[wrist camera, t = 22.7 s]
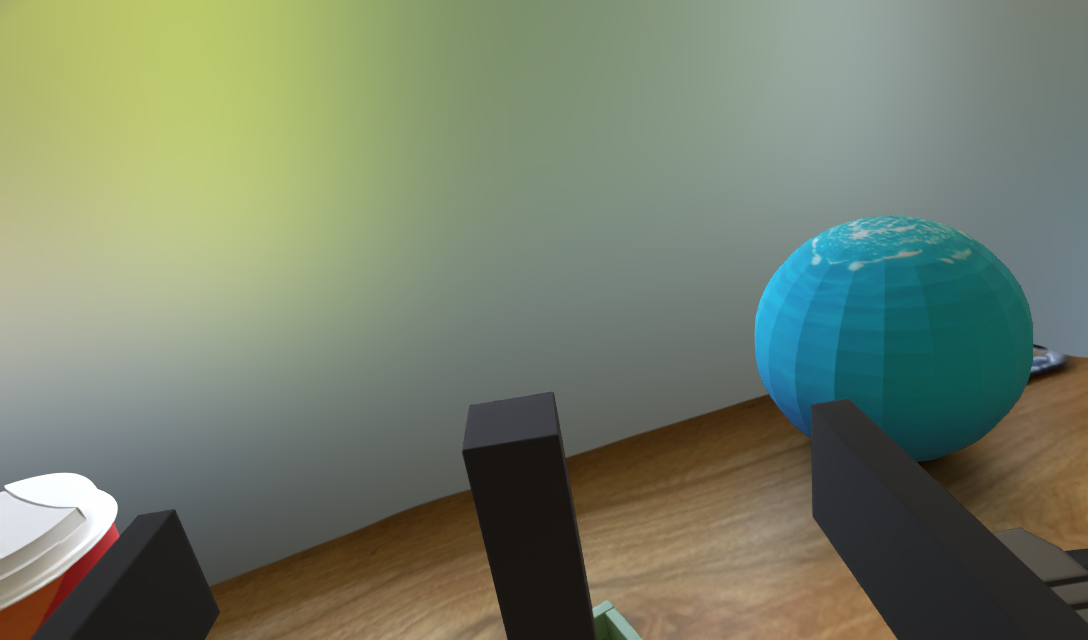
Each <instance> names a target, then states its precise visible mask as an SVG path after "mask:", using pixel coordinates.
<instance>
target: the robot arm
mask: <svg viewBox="0 0 1088 640" xmlns="http://www.w3.org/2000/svg"><path fill="white" fill-rule="evenodd" d="M811 444H812V502H813V517H814V519H815V520H816V522H817V523H818V525H819V526H820V528H821V529H822V530H823V532H824V533H825V535H826V536H827V538H828V539H829V541H830V542H831V543H832V545H833V546H834V548H835V549H836V551H837V552H838V554H839V555H840V557H841V558H842V559H843V561H844V562H845V564H846V565H847V567H848V568H849V570H850V571H851V572H852V574H853V575H854V577H855V578H856V580H857V581H858V583H859V584H860V585H861V587H862V588H863V590H864V591H865V593H866V594H867V596H868V597H869V598H870V600H871V601H872V603H873V604H874V606H875V607H876V609H877V610H878V611H879V613H880V614H881V616H882V617H883V619H884V620H885V622H886V623H887V625H888V626H889V627H890V629H891V630H892V632H893V633H894V635H895V636H896V638H897V639H898V640H1088V571H1087V570H1086V569H1085V568H1084V567H1082V566H1081V565H1080V564H1079V563H1078V562H1076V561H1075V560H1074V559H1073V558H1072V557H1071V556H1069V555H1068V554H1067V553H1066V552H1065V551H1063V550H1062V549H1061V548H1060V547H1058V546H1056V545H1054V544H1052V543H1050V542H1048V541H1046V540H1044V539H1042V538H1040V537H1038V536H1036V535H1034V534H1032V533H1030V532H1028V531H1026V530H1024V529H1022V528H1016V529H1009V530H1003V531H997V532H990V531H989V530H988V529H987V528H986V527H985V526H984V525H983V524H982V523H981V522H980V521H979V520H978V519H976V518H975V517H974V516H973V515H972V514H971V513H970V512H969V511H968V510H967V509H966V508H965V507H964V506H963V505H962V504H961V503H959V502H958V501H957V500H956V499H955V498H954V497H953V496H952V495H951V494H950V493H949V492H948V491H947V490H946V489H945V488H943V487H942V486H941V485H940V484H939V483H938V482H937V481H936V480H935V479H934V478H933V477H932V476H931V475H930V474H929V473H927V472H926V471H925V470H924V469H923V468H922V467H921V466H920V465H919V464H918V463H917V462H916V461H915V460H914V459H913V458H912V457H910V456H909V455H908V454H907V453H906V452H905V451H904V450H903V449H902V448H901V447H900V446H899V445H898V444H897V443H896V442H894V441H893V440H892V439H891V438H890V437H889V436H888V435H887V434H886V433H885V432H884V431H883V430H882V429H881V428H880V427H878V426H877V425H876V424H875V423H874V422H873V421H872V420H871V419H870V418H869V417H868V416H867V415H866V414H865V413H864V412H862V411H861V410H860V409H859V408H858V407H857V406H856V405H855V404H854V403H853V402H852V401H851V400H850V399H849V398H848V399H842V400H836V401H830V402H824V403H818V404H812V405H811ZM219 613H220V611H219V609H218V606H217V604H216V602H215V599H214V597H213V595H212V593H211V590H210V588H209V586H208V584H207V581H206V579H205V577H204V575H203V572H202V570H201V568H200V566H199V563H198V561H197V558H196V557H195V554H194V552H193V549H192V547H191V545H190V543H189V540H188V538H187V536H186V534H185V531H184V529H183V527H182V524H181V522H180V520H179V518H178V515H177V513H176V511H175V509H172V510H166V511H161V512H154V513H148V514H143V515H138V516H137V517H136V518H135V520H134V521H133V522H132V523H131V524H130V525H129V526H128V527H127V529H126V530H125V531H124V532H123V533H122V534H121V536H120V537H119V538H118V539H117V540H116V541H115V542H114V543H113V545H112V546H111V547H110V548H109V549H108V550H107V551H106V553H105V554H104V555H103V556H102V557H101V558H100V559H99V561H98V562H97V563H96V564H95V565H94V566H93V567H92V569H91V570H90V571H89V572H88V573H87V574H86V575H85V577H84V578H83V579H82V580H81V581H80V582H79V583H78V585H77V586H76V587H75V588H74V589H73V590H72V591H71V593H70V594H69V595H68V596H67V597H66V598H65V599H64V601H63V602H62V603H61V604H60V605H59V606H58V607H57V609H56V610H55V611H54V612H53V613H52V614H51V615H50V617H49V618H48V619H47V620H46V621H45V622H44V623H43V625H42V626H41V627H40V628H39V629H38V630H37V631H36V633H35V634H34V635H33V636H32V637H31V638H30V639H29V640H205V638H206V636H207V635H208V633H209V631H210V629H211V627H212V626H213V624H214V622H215V620H216V618H217V617H218V615H219Z"/></svg>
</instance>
